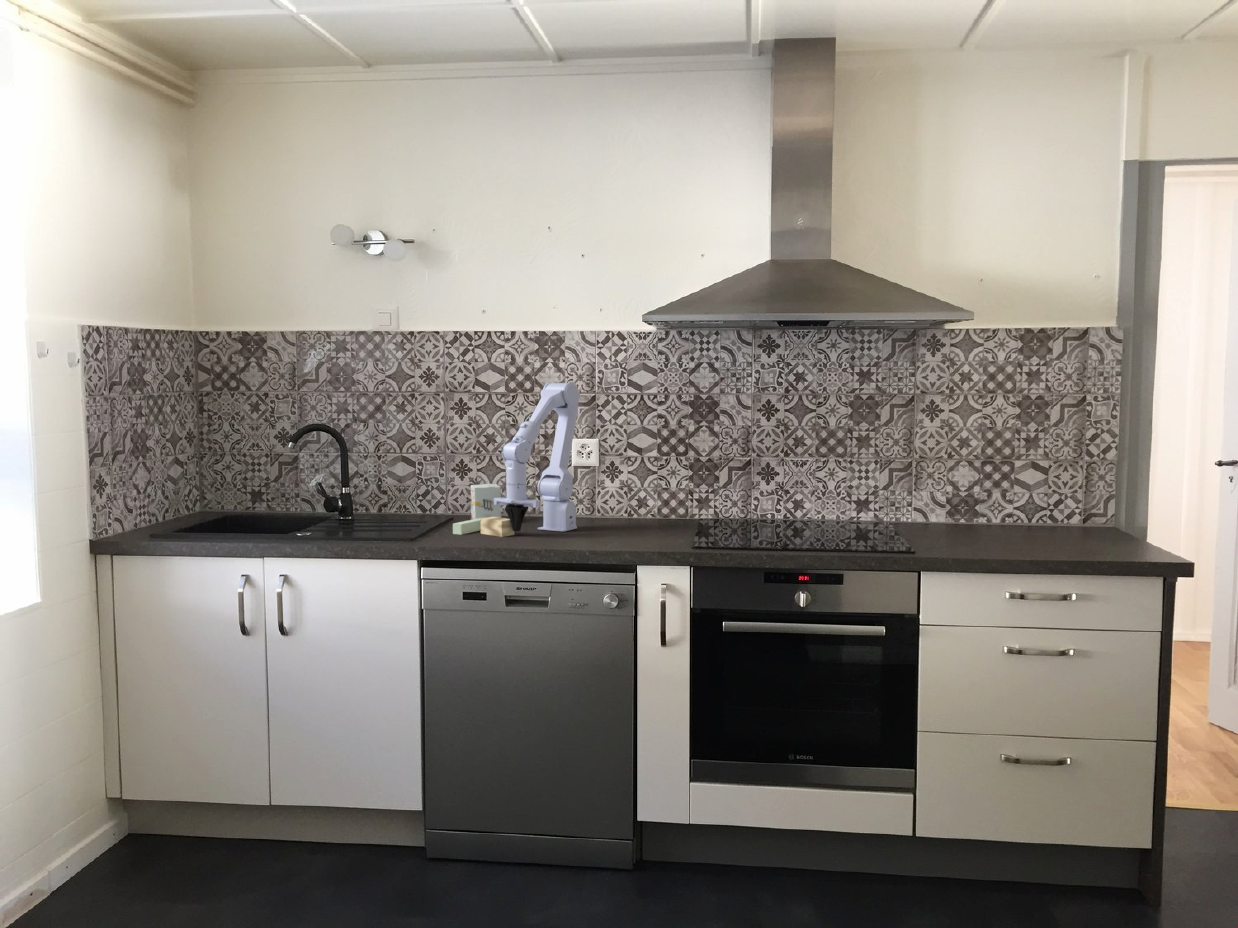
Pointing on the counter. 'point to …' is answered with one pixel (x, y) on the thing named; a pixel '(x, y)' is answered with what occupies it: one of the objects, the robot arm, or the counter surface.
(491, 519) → the block
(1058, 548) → the counter surface
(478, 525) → the rail
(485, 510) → the ink box
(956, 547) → the counter surface
